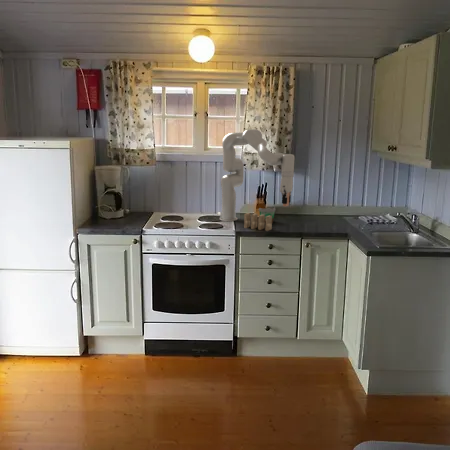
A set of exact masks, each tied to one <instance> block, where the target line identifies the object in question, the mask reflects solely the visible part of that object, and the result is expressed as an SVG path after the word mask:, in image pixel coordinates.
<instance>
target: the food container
mask: <svg viewBox="0 0 450 450" xmlns="http://www.w3.org/2000/svg"><path fill="white" fill-rule="evenodd" d="M276 210H277V209H276V207H275V206H274V207H272V208H271V207H267V208H261V207H259V208H258V212H259V216H260V215H265V224H266V217H267V216H269V215H270V216H272V224H273V223H274V221H275V220H274V217H275V212H276Z"/></svg>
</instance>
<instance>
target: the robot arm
mask: <svg viewBox="0 0 450 450" xmlns="http://www.w3.org/2000/svg"><path fill="white" fill-rule="evenodd" d="M221 144H222V169H223V170H224V172H226V173H228V174H225V175H223V176H222V177H221V179H220V187H221V212H217V213H216V214H217V215H216V216H219V219H218V220H220V221H223V222H234V221H238V217H236V212H237V211H236V207H237V206H236V205H237V204H236V203H237V199H236V198H237V197H236V195H237V194H236V193H237V192H236V190H235V188H239V187H240V186H242V185H243V183H244V163H243V160H242V159H241V158H240V157H236V148H235V147H237V146H246V145H249V146H251V148H253V149H254V150H255V151H257V153H258V156H259V158H260V159H261V160H262V161H263V162H265V163H266V164H268V165H269V166H272V167H273V166H281V174H280V175H281V176H280V177H281V178H280V189H279V192H280V193H281V204H282V205H283V204H287V193H288V192H290V195H289V204H290V203H291V196H292V191H293V187H294V185H293V183H294V182H293V181H294V179H293V178H294V175H295V173H294V170H295V154H291V153H282V152H274V153H273V152H272V151H270V150H269V149H268V148H267V145H268V142H267V140H265V138H263V133H262V131H260V130H259V129H256V128H255V129H246V130H244V131H243V132H231V133H230V132H229V133H228V134H226V135H225V136H224V137H223V138H222V143H221ZM284 193H285V194H286V195H285V194H284Z"/></svg>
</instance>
